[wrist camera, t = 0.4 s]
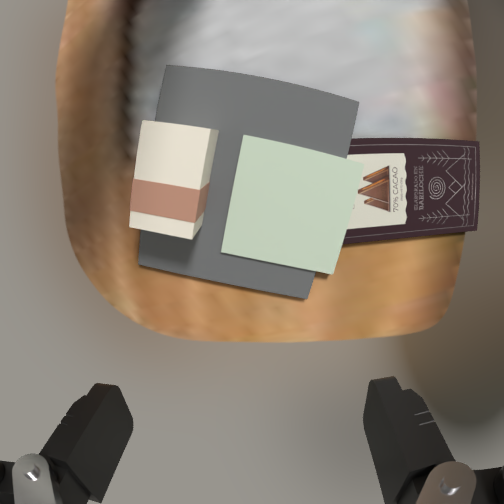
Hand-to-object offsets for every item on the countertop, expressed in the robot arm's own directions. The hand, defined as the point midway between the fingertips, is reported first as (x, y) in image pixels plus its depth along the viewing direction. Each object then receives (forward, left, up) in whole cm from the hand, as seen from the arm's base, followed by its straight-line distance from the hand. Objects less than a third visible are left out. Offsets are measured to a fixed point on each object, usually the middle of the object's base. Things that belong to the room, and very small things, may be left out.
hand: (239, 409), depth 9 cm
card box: (-4, -7, -19) cm, 20 cm away
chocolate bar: (-7, +12, -20) cm, 24 cm away
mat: (-4, -2, -19) cm, 20 cm away
